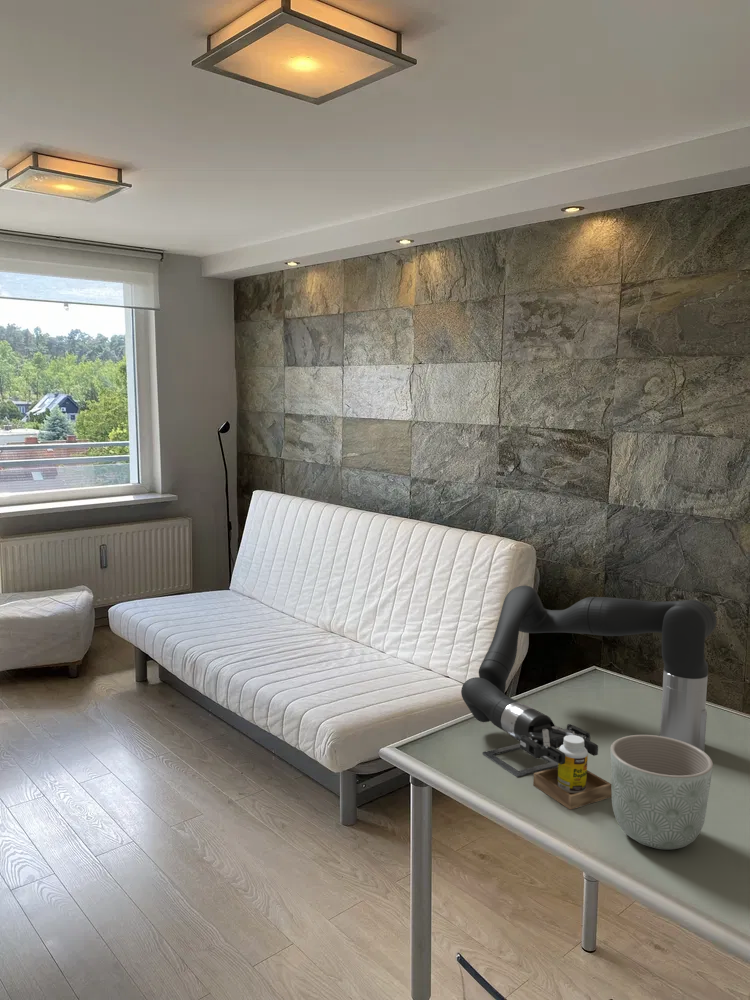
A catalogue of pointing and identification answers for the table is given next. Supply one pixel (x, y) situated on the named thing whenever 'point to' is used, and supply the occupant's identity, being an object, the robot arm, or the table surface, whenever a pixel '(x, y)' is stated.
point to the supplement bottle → (573, 765)
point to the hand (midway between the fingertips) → (580, 755)
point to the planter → (659, 789)
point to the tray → (592, 793)
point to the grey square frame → (512, 770)
